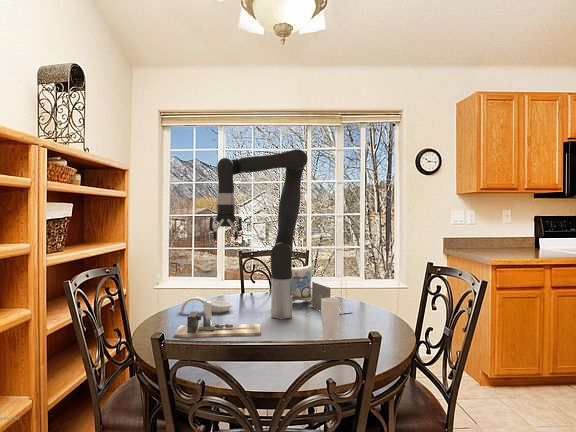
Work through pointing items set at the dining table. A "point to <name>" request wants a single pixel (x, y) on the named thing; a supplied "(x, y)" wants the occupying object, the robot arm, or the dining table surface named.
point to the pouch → (301, 283)
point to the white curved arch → (216, 305)
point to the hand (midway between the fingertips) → (225, 240)
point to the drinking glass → (330, 317)
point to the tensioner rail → (236, 330)
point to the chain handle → (210, 318)
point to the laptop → (319, 295)
